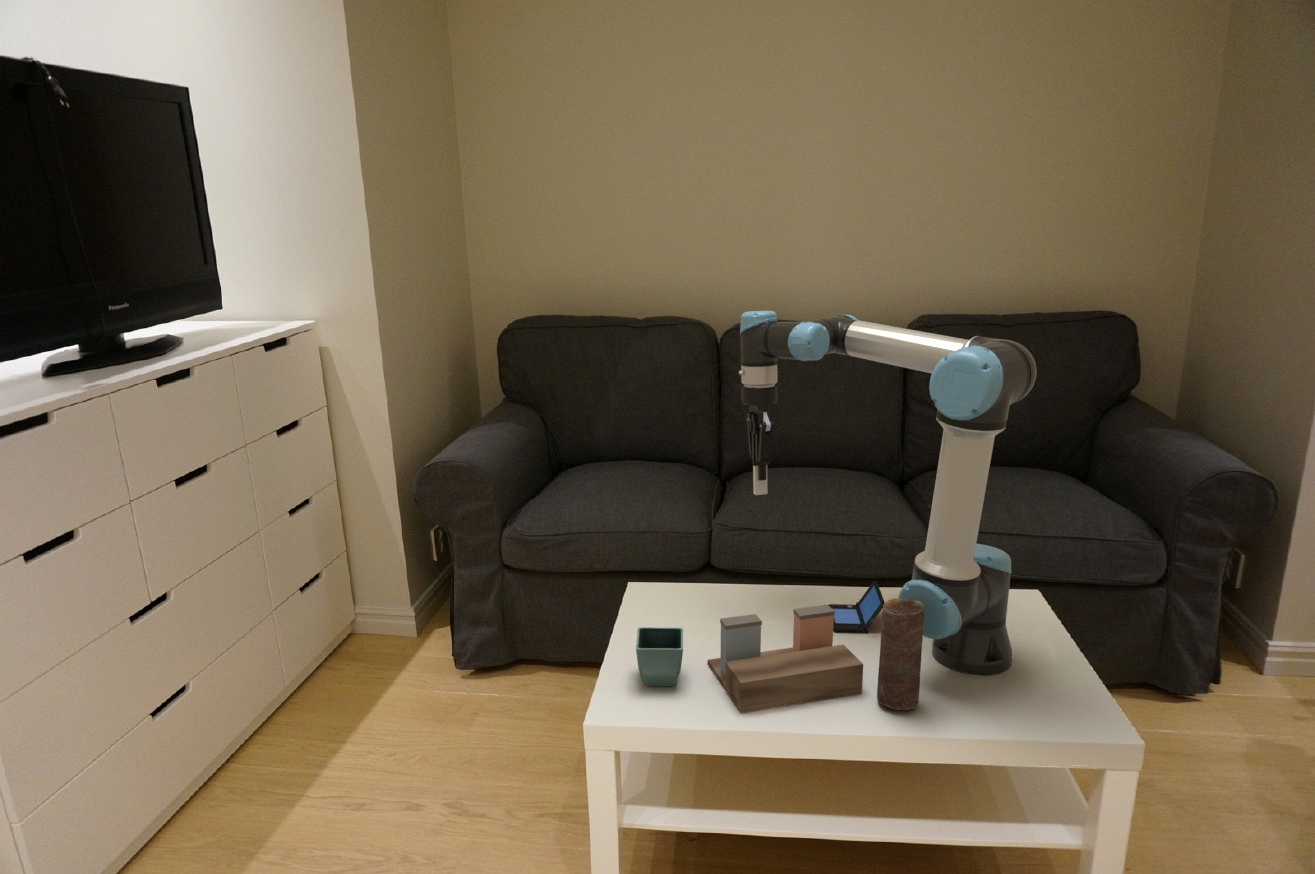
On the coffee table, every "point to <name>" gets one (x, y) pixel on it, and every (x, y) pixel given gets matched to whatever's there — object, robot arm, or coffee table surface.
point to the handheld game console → (858, 612)
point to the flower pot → (659, 655)
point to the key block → (790, 677)
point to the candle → (900, 654)
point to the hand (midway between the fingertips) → (760, 493)
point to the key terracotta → (813, 627)
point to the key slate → (740, 638)
